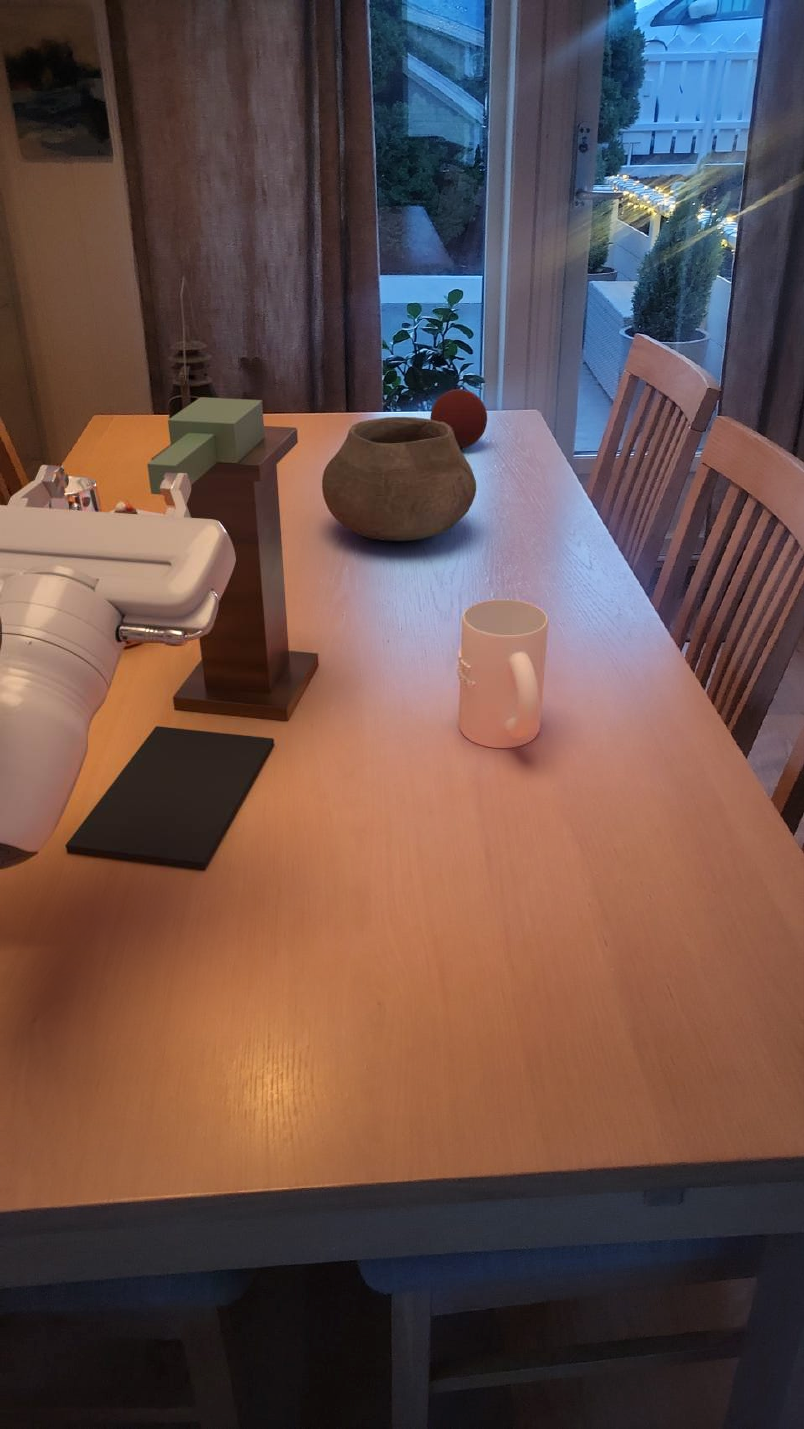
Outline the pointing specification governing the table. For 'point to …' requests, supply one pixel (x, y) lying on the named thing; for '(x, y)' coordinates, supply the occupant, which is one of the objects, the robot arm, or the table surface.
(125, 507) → the dessert
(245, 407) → the green block mallet
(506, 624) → the mug
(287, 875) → the table surface
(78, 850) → the mat
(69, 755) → the robot arm
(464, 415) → the decorative ball
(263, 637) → the stand
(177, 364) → the lantern
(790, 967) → the table surface
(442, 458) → the clay pot
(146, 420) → the table surface
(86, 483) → the beer glass
